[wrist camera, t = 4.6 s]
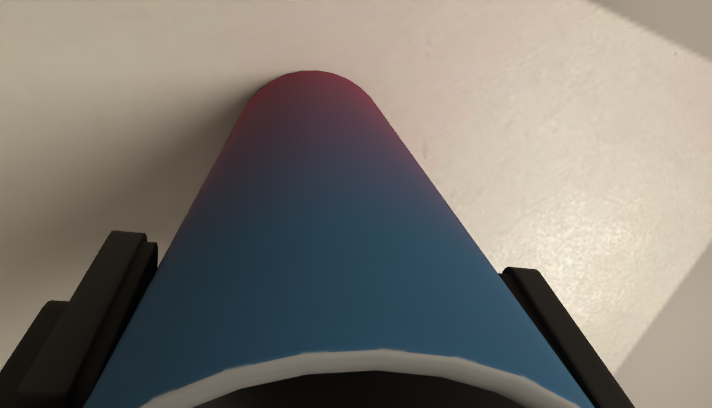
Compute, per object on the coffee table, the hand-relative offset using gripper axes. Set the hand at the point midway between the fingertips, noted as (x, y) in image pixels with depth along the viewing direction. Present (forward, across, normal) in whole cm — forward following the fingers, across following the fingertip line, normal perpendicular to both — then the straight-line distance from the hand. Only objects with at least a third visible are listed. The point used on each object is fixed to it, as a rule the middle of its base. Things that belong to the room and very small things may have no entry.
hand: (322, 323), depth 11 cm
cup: (+10, 0, 0) cm, 10 cm away
